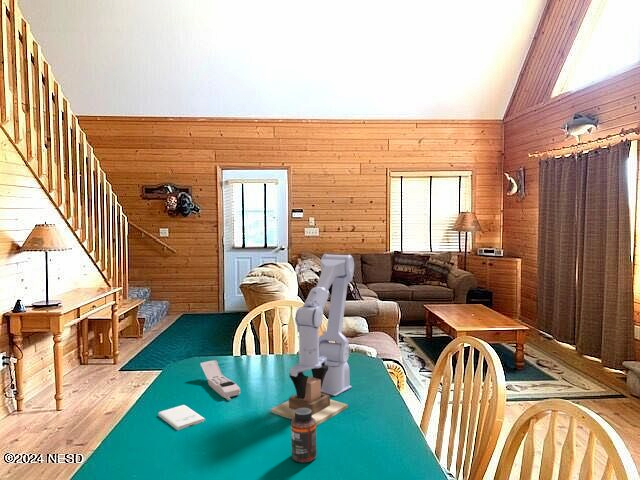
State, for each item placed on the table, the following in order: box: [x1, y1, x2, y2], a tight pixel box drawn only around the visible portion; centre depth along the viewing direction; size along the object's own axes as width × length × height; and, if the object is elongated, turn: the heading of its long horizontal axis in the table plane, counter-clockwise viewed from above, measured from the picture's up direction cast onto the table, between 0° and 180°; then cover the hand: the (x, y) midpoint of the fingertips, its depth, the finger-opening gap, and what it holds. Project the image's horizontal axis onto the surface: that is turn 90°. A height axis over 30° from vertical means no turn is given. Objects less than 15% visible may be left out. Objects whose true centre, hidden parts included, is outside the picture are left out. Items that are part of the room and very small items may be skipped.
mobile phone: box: [200, 359, 241, 401], centre depth 160 cm, size 6×6×25 cm
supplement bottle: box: [290, 408, 318, 463], centre depth 114 cm, size 6×6×11 cm
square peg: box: [299, 375, 322, 403], centre depth 141 cm, size 4×4×8 cm
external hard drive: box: [157, 404, 206, 431], centre depth 137 cm, size 2×8×12 cm
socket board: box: [270, 392, 349, 427], centre depth 141 cm, size 16×16×4 cm
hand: (309, 393), depth 141 cm, fingers open, 7 cm apart
